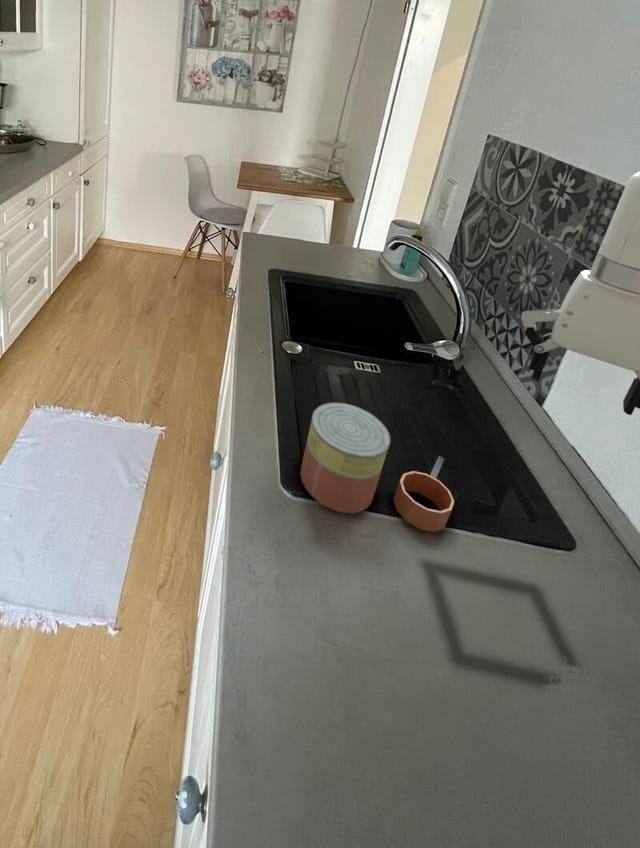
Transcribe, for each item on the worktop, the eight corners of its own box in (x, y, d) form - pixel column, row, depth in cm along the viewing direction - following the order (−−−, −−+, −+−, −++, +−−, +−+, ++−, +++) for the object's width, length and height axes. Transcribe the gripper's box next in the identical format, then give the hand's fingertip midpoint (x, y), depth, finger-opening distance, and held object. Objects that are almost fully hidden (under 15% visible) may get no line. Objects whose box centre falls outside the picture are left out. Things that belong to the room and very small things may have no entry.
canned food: (375, 476, 82) (392, 418, 78) (369, 530, 73) (388, 468, 68) (305, 450, 87) (318, 393, 82) (291, 498, 77) (305, 437, 73)
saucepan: (437, 546, 72) (447, 522, 70) (385, 515, 76) (394, 491, 74) (457, 491, 81) (467, 468, 79) (410, 465, 85) (418, 443, 83)
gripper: (729, 289, 58) (665, 408, 64) (547, 246, 68) (507, 352, 74) (742, 312, 52) (670, 440, 59) (541, 261, 62) (499, 375, 69)
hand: (579, 391), depth 66 cm, fingers open, 9 cm apart
